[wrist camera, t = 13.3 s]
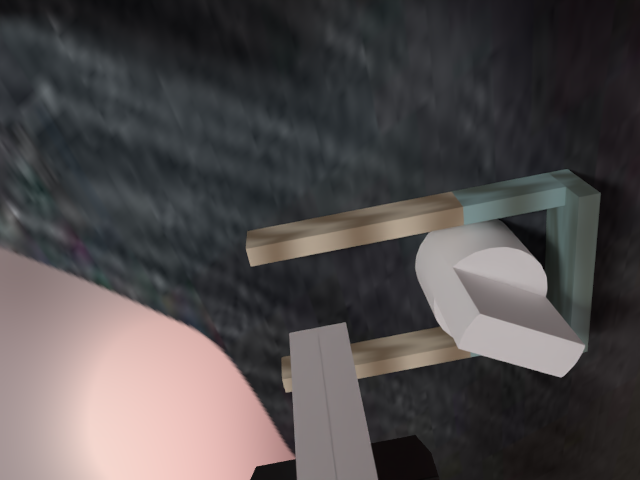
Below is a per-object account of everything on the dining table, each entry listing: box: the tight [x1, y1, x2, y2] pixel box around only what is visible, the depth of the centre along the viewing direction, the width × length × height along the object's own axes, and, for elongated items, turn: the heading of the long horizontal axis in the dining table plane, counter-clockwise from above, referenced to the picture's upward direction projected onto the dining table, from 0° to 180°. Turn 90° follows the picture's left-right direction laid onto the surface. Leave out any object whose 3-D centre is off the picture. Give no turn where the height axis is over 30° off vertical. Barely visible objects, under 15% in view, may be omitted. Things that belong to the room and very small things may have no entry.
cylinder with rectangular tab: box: [415, 219, 585, 377], centre depth 42 cm, size 9×9×12 cm
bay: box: [246, 169, 601, 392], centre depth 45 cm, size 27×15×5 cm, turn 100°
